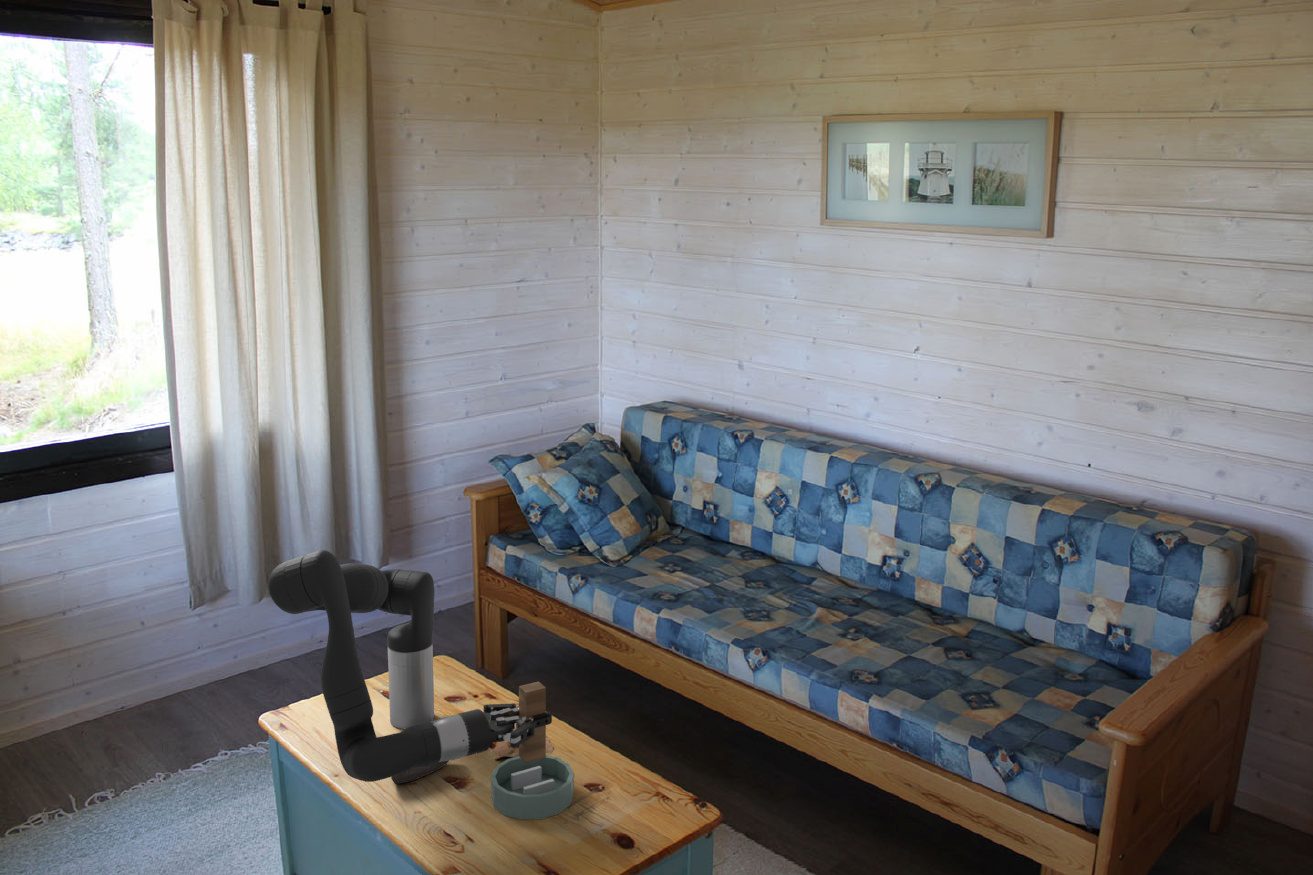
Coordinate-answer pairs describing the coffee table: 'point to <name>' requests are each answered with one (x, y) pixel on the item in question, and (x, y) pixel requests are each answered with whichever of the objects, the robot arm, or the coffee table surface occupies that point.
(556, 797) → the slotted round holder
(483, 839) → the coffee table surface
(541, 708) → the tall wooden post
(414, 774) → the perforated stone tool
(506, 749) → the clay slab
